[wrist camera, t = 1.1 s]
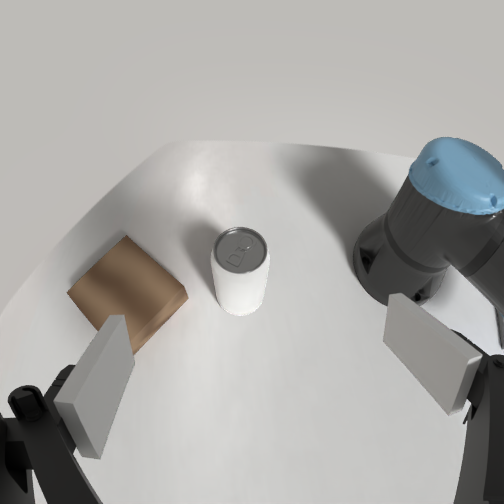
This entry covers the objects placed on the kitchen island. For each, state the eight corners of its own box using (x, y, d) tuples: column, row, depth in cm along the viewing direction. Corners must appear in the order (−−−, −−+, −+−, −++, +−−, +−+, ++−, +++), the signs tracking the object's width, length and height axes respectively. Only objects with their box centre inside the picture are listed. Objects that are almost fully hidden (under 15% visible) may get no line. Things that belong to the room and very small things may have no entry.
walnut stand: (133, 249, 46) (126, 235, 43) (188, 298, 43) (184, 286, 39) (78, 303, 41) (66, 292, 38) (128, 360, 38) (118, 353, 34)
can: (272, 286, 44) (282, 239, 34) (249, 325, 41) (252, 288, 31) (231, 265, 46) (229, 214, 35) (207, 302, 43) (196, 259, 32)
